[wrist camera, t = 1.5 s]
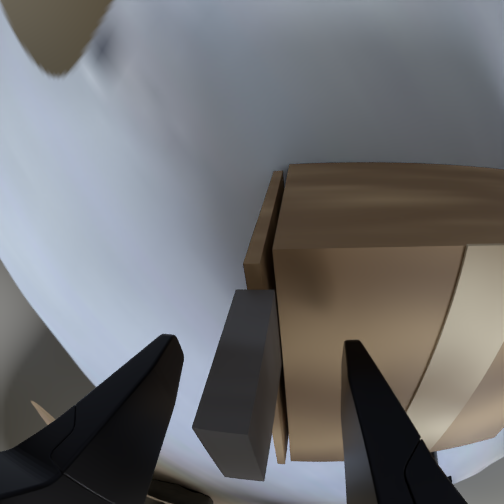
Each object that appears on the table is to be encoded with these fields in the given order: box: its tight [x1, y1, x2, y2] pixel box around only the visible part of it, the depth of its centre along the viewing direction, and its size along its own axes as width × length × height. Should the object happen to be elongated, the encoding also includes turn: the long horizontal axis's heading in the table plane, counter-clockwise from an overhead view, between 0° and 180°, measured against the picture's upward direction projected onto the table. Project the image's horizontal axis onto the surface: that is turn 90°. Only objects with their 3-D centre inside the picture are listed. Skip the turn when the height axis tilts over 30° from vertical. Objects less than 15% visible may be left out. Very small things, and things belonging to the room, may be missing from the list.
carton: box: [272, 162, 504, 462], centre depth 13 cm, size 14×13×8 cm
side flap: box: [192, 171, 289, 481], centre depth 13 cm, size 14×1×12 cm, turn 7°
